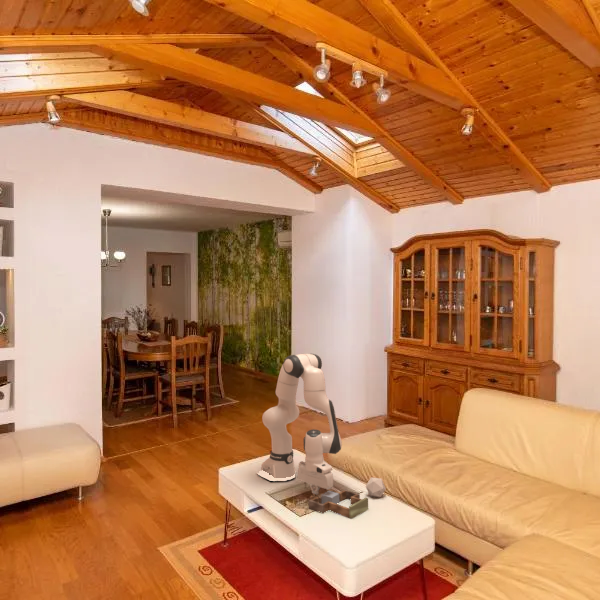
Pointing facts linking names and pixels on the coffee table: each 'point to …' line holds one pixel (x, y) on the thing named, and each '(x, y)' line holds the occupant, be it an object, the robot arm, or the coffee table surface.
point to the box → (351, 512)
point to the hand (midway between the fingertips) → (315, 493)
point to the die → (375, 487)
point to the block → (330, 497)
